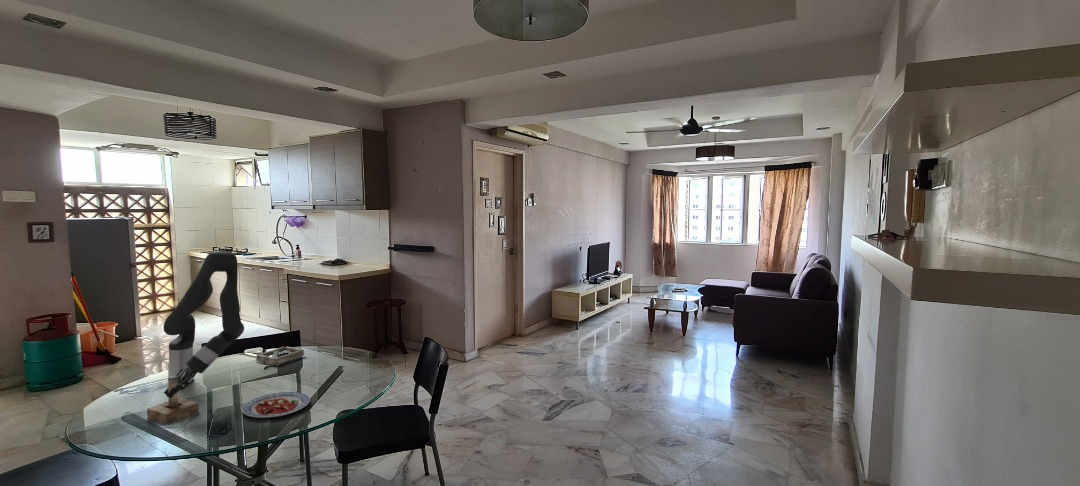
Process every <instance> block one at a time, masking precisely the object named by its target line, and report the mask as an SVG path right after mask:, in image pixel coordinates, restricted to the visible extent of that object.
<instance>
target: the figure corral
mask: <svg viewBox="0 0 1080 486" xmlns="http://www.w3.org/2000/svg"><path fill="white" fill-rule="evenodd" d="M277 350H278V351H279V352H282V351H284V350H287V351H290V352H292V353H290V354H283V355H280V356H278V358H274V357H269V356H270V355H273V354H274V353H273V352H272V351H276V352H277ZM303 355H304V356H305V350H304V349H301V348H295V347H291V346H286V347H284V346H281V347H278V348H275V349H272V350H269V351H265V352H262V353H259V354H256V362H257V361H258V362H263V363H267V364H266V365H268V364H271V365H270V366H273V365H275V366H274V367H277V366H276V365H278V364H281V363H283V362H285V361H288V360H291V359H294V358H297V357H300V356H303ZM258 362H257V363H258ZM263 363H262V364H263ZM281 365H282V364H281ZM278 366H279V365H278Z"/></svg>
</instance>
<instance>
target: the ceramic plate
mask: <svg viewBox="0 0 1080 486" xmlns="http://www.w3.org/2000/svg"><path fill="white" fill-rule="evenodd" d="M310 400H311V399H310V396H309V395H307V394H306V393H302V392H297V391H282V392H281V391H279V392H273V393H268V394H264V395H260V396H257V397H255V398H252V399H251V400H249V401H247V402H245V403H244V404H243V405H242V407H241V411H242V413H243V414H244V415H245V416H247V417H252V418H257V419H258V418H262V419H263V418H275V417H282V416H286V415H289V414H292V413H295V412H298V411H300V410H302V409H303V408H305V407H306V406H307V405H309V403H310ZM289 401H291V402H292V403H291V402H289ZM294 401H296V402H297V403H298V404H299V405H298V407H296V408H295V406H296V405H295V403H294ZM294 408H295V409H294Z"/></svg>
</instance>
